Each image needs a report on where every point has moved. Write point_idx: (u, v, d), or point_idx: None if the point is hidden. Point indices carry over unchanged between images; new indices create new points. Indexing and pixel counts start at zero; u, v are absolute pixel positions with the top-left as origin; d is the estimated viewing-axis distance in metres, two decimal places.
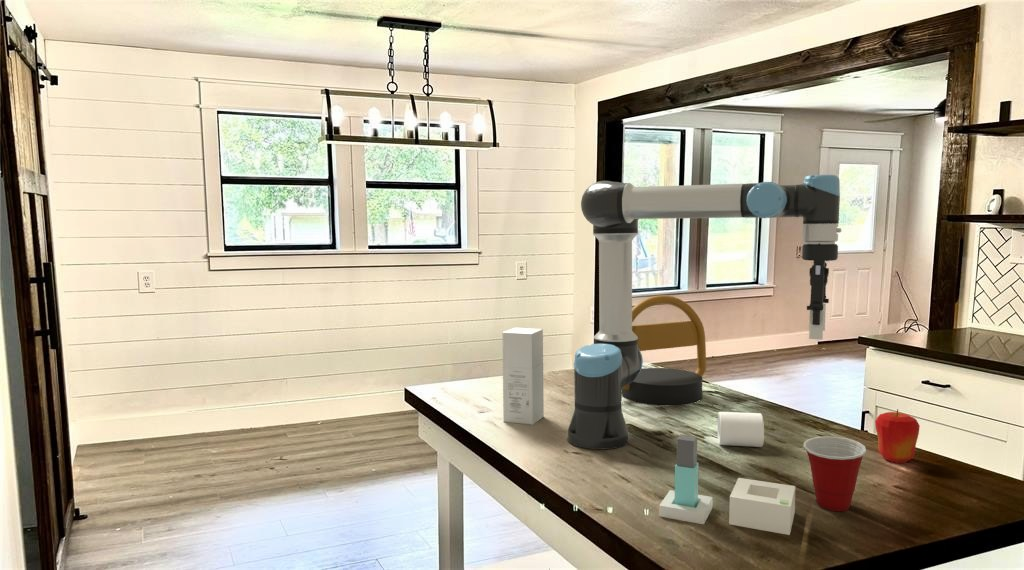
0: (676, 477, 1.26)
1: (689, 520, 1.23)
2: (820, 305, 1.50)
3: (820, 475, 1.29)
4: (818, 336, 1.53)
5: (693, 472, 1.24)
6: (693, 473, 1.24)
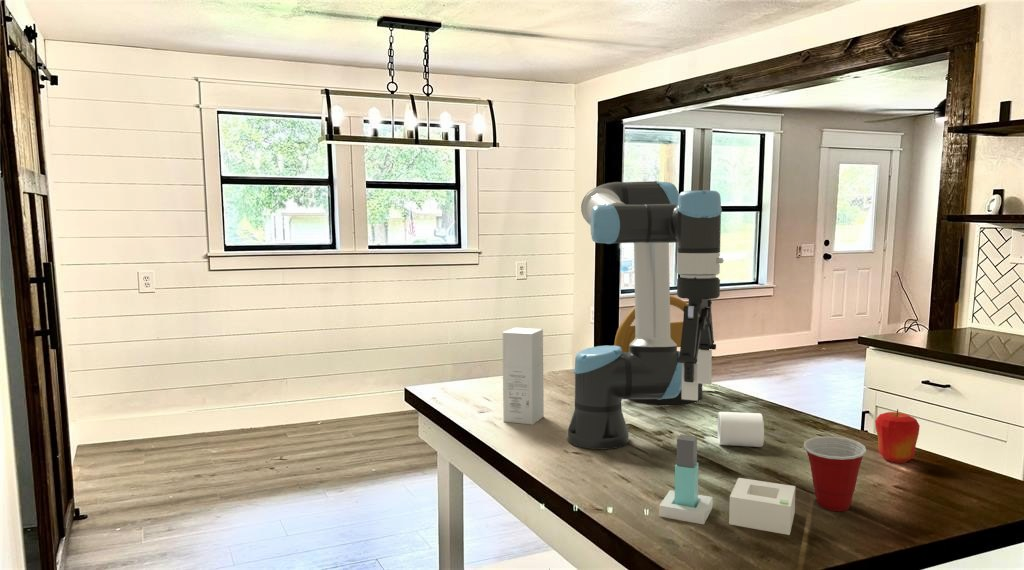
0: (676, 477, 1.26)
1: (689, 520, 1.23)
2: (691, 358, 1.17)
3: (820, 475, 1.29)
4: (692, 396, 1.20)
5: (693, 472, 1.24)
6: (693, 473, 1.24)
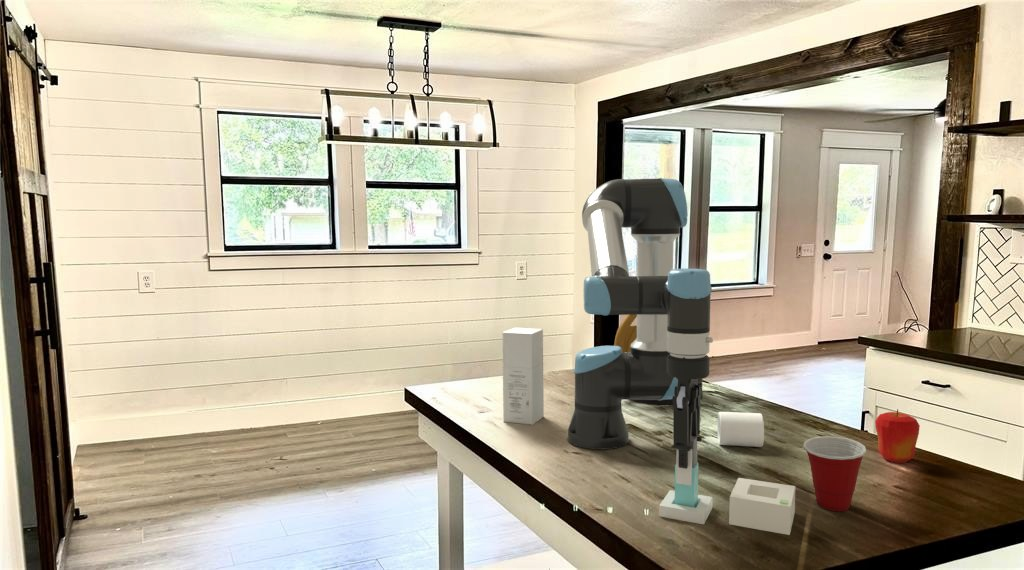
0: None
1: (689, 520, 1.23)
2: (685, 448, 1.21)
3: (820, 475, 1.29)
4: (686, 481, 1.24)
5: (693, 472, 1.24)
6: (693, 473, 1.24)
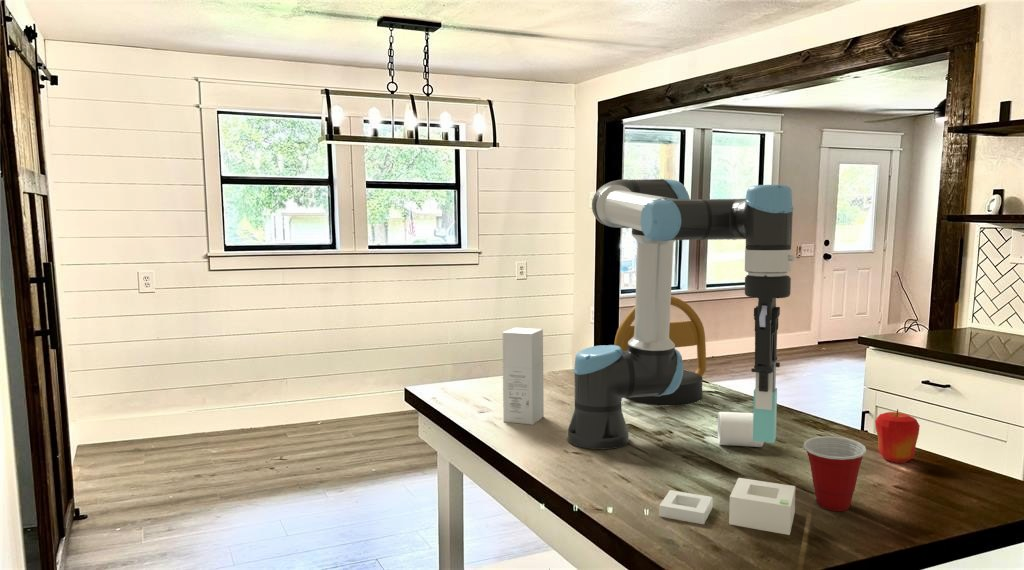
0: None
1: (689, 520, 1.23)
2: (767, 369, 1.16)
3: (820, 475, 1.29)
4: (766, 405, 1.20)
5: (773, 396, 1.20)
6: (773, 397, 1.20)
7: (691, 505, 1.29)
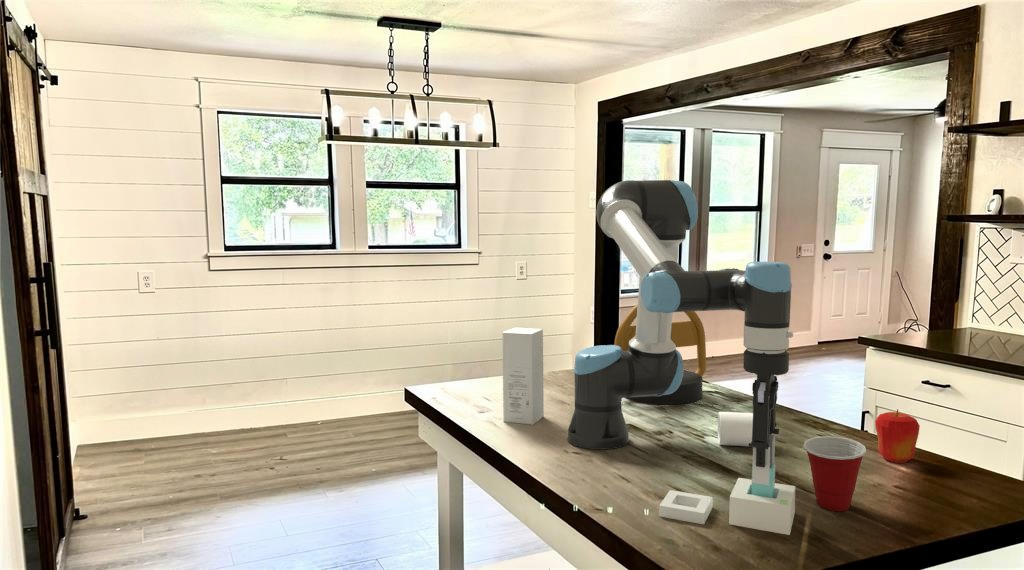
0: None
1: (689, 520, 1.23)
2: (764, 446, 1.16)
3: (820, 475, 1.29)
4: (763, 480, 1.19)
5: (771, 472, 1.21)
6: (771, 473, 1.21)
7: (691, 505, 1.29)
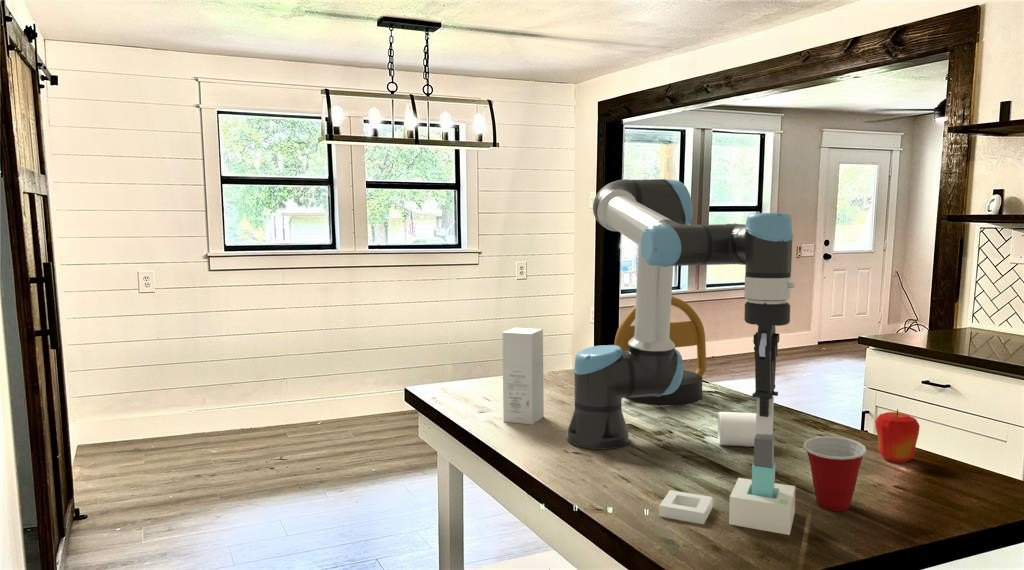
0: (753, 477, 1.23)
1: (689, 520, 1.23)
2: (768, 396, 1.19)
3: (820, 475, 1.29)
4: (767, 430, 1.22)
5: (772, 472, 1.21)
6: (771, 473, 1.21)
7: (691, 505, 1.29)
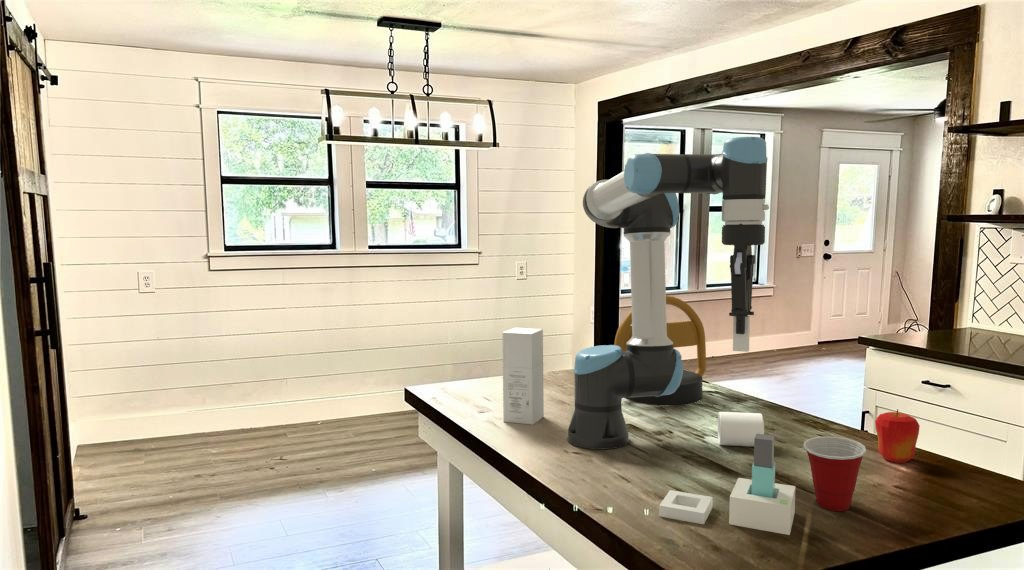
0: (753, 477, 1.23)
1: (689, 520, 1.23)
2: (743, 312, 1.24)
3: (820, 475, 1.29)
4: (743, 347, 1.27)
5: (772, 472, 1.21)
6: (771, 473, 1.21)
7: (691, 505, 1.29)
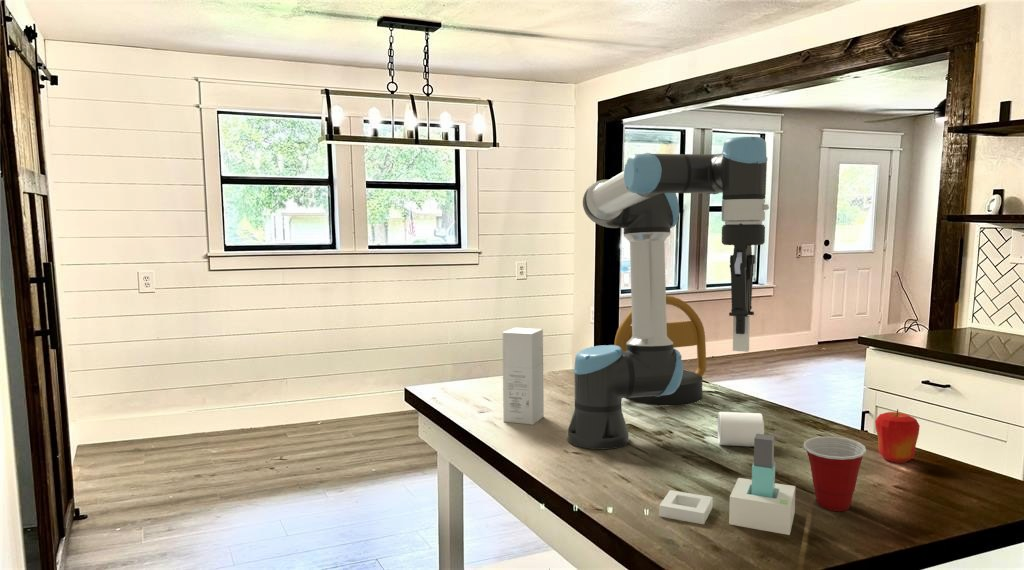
0: (753, 477, 1.23)
1: (689, 520, 1.23)
2: (743, 312, 1.24)
3: (820, 475, 1.29)
4: (743, 347, 1.27)
5: (772, 472, 1.21)
6: (771, 473, 1.21)
7: (691, 505, 1.29)
